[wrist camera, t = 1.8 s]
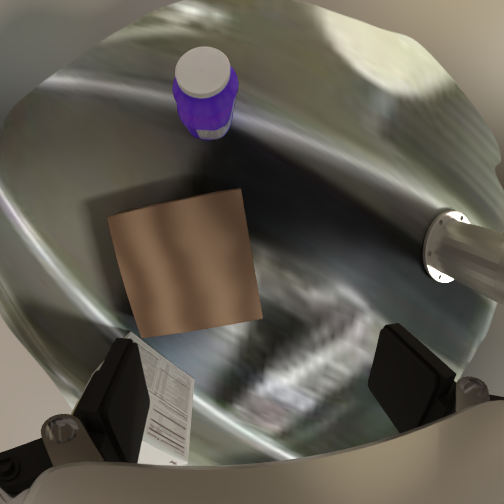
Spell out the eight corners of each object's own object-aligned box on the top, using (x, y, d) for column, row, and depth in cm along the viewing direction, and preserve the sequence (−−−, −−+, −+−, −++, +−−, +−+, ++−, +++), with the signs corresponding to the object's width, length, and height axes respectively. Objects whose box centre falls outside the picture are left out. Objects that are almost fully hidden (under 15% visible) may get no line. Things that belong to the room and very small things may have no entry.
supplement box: (130, 328, 40) (91, 405, 23) (196, 378, 44) (190, 464, 27) (90, 373, 42) (53, 444, 25) (150, 415, 45) (135, 492, 28)
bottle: (229, 144, 36) (237, 115, 19) (185, 141, 35) (157, 111, 18) (235, 91, 34) (247, 30, 17) (191, 89, 33) (172, 27, 17)
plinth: (238, 187, 37) (240, 188, 32) (257, 302, 41) (262, 318, 37) (120, 212, 36) (106, 217, 31) (149, 321, 40) (141, 338, 36)
